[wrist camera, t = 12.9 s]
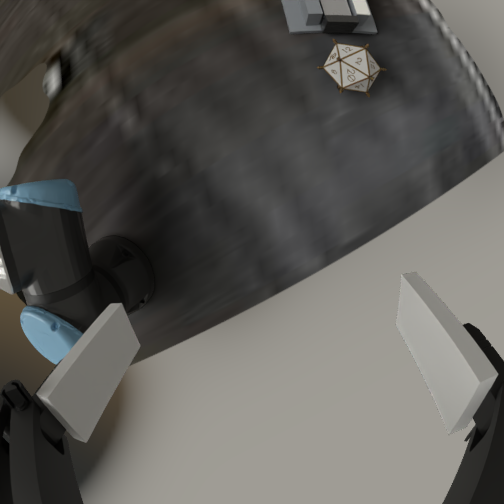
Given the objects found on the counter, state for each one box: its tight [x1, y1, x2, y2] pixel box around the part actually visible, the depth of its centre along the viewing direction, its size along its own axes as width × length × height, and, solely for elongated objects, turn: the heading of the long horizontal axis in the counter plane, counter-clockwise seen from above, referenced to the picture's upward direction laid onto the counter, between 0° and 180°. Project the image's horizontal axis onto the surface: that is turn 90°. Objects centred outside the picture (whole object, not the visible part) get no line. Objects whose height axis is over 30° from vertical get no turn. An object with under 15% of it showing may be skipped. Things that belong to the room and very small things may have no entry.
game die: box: [317, 39, 387, 97], centre depth 30 cm, size 9×8×10 cm
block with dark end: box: [319, 0, 359, 33], centre depth 25 cm, size 7×9×5 cm
